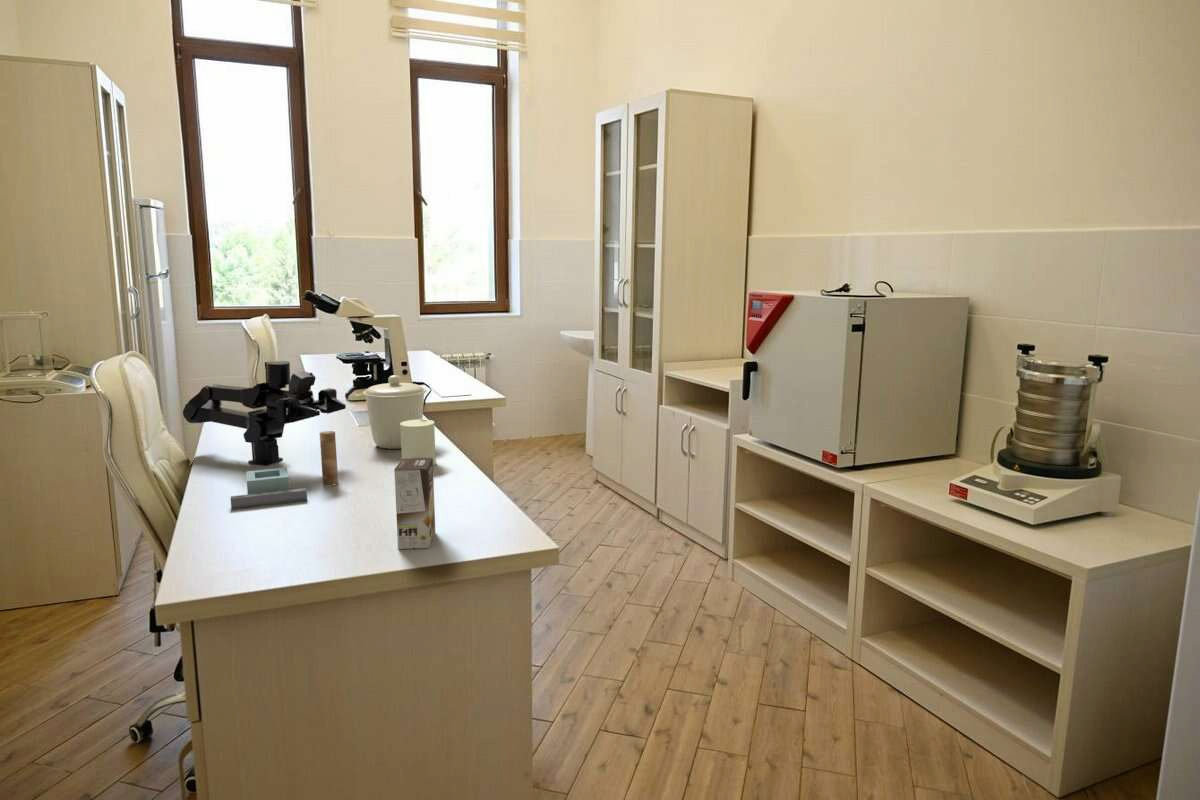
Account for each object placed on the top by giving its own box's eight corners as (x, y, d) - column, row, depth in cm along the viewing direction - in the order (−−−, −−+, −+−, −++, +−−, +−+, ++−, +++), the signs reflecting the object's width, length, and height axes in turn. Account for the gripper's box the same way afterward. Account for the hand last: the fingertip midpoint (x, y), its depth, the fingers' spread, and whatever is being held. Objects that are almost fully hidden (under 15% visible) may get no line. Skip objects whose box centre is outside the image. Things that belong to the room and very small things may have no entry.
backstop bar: (231, 507, 180) (230, 496, 180) (306, 498, 187) (305, 488, 186) (231, 509, 179) (230, 498, 178) (307, 500, 185) (306, 490, 184)
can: (442, 461, 219) (441, 418, 217) (424, 470, 211) (423, 425, 209) (413, 458, 222) (411, 416, 220) (394, 467, 214) (392, 423, 212)
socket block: (248, 491, 192) (246, 471, 191) (288, 487, 196) (286, 467, 195) (248, 502, 184) (246, 481, 183) (290, 497, 187) (288, 476, 186)
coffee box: (430, 548, 155) (427, 469, 152) (397, 549, 155) (393, 469, 152) (436, 532, 164) (433, 456, 161) (404, 533, 164) (401, 457, 161)
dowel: (319, 484, 198) (316, 433, 195) (330, 480, 201) (326, 430, 199) (331, 486, 196) (327, 434, 194) (341, 482, 199) (338, 431, 197)
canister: (433, 449, 233) (430, 378, 229) (369, 455, 226) (365, 381, 222) (423, 436, 249) (420, 369, 245) (363, 441, 243) (359, 372, 239)
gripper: (257, 376, 202) (304, 384, 195) (313, 367, 218) (357, 374, 212) (259, 419, 204) (305, 428, 198) (313, 406, 221) (357, 414, 214)
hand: (332, 410), depth 205 cm, fingers open, 9 cm apart
